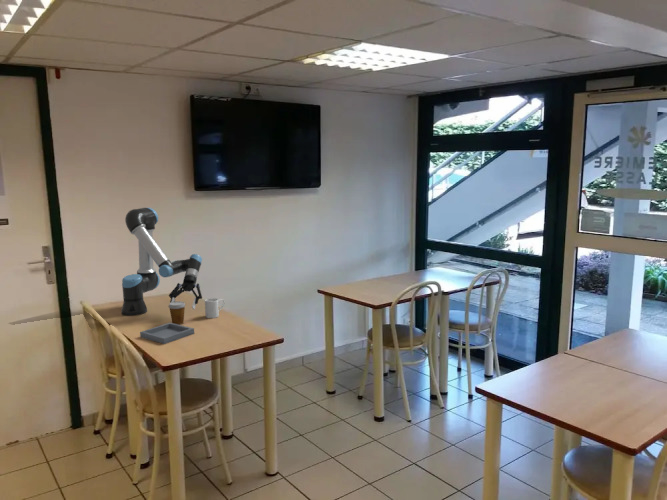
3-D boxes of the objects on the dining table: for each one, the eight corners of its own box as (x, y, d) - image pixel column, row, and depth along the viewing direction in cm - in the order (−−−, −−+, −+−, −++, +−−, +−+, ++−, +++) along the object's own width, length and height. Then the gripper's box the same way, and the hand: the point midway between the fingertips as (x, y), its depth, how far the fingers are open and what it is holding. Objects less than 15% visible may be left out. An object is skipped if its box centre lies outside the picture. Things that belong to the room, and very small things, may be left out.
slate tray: (140, 337, 287) (140, 332, 286) (170, 327, 303) (170, 322, 302) (164, 344, 276) (164, 338, 275) (194, 333, 292) (194, 328, 291)
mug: (208, 319, 318) (207, 302, 317) (203, 316, 325) (202, 299, 323) (227, 315, 325) (226, 299, 324) (222, 312, 332) (221, 296, 330)
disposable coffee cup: (188, 320, 315) (187, 301, 313) (182, 325, 306) (181, 305, 304) (173, 320, 316) (172, 301, 314) (166, 325, 307) (165, 305, 305)
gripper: (212, 281, 326) (204, 311, 314) (173, 280, 329) (164, 310, 317) (208, 274, 319) (200, 305, 308) (169, 273, 323) (159, 304, 311)
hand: (182, 308), depth 312 cm, fingers open, 13 cm apart
